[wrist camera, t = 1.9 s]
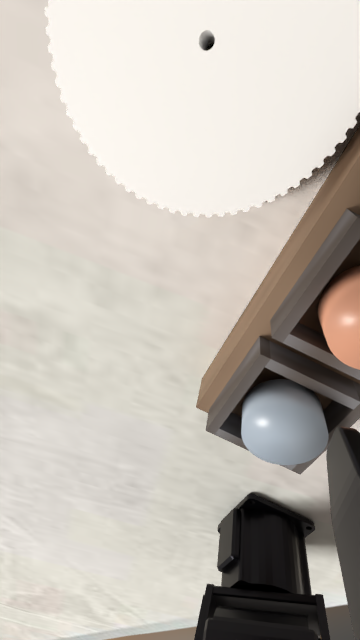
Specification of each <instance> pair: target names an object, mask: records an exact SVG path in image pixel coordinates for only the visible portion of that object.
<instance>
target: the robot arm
mask: <svg viewBox="0 0 360 640" xmlns="http://www.w3.org/2000/svg"><path fill="white" fill-rule="evenodd" d="M327 470H328V482H329V494H330V506H331V516H332V524H333V530H334V536H335V541H336V546H337V551H338V556H339V561H340V566H341V571H342V577H343V582H344V587H345V592H346V597H347V602H348V607H349V612H350V617H351V622H352V627H353V632H354V637H355V640H360V433H359V432H358V431H357V430H356V429H353V428H347V427H341V426H340V427H337V428H336V429H335V431H334V434H333V436H332V439H331V441H330V444H329V446H328V449H327ZM314 530H315V525H314V522H312V521H311V520H308V519H306V518H304V517H302V516H300V515H297V514H295V513H293V512H291V511H289V510H287V509H284V508H282V507H280V506H278V505H276V504H274V503H271V502H269V501H267V500H265V499H263V498H261V497H258V496H256V495H253V494H249V495H247V496H246V497H245V498H244V499H243V500H242V501H241V502H240V503H239V504H238V505H237V507H236V508H234V509H233V510H232V511H231V512H230V513H229V514H228V515H227V516H226V517H225V518H224V519H223V520H222V521H221V523H220V524H219V525H218V532H219V533H220V540H219V552H218V563H217V567H218V570H219V571H220V572H222V583H221V586H214V584H207V587H206V591H205V595H203V599H202V604H201V609H200V614H199V619H198V624H197V629H196V634H195V639H194V640H330V636H329V630H328V623H327V617H326V611H325V605H324V598H323V595H321V594H315V595H312V593H311V585H310V577H309V569H308V562H307V554H306V546H305V537H306V536H308V535H309V534H310V533H312V532H313V531H314ZM318 635H320V638H318Z"/></svg>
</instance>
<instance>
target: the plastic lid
mask: <svg viewBox="0 0 360 640" xmlns="http://www.w3.org/2000/svg"><path fill="white" fill-rule="evenodd" d="M45 16H46V17H48V21H49V25H48V26H46V35H48V36H49V37H50V44H49V45H48V52H49V53H51V54H52V57H53V61H52V62H51V68H52V70H53V71H55V72H56V75H57V78H56V79H55V83H56V86H57V87H60V89H61V92H62V94H61V95H60V99H61V101H62V102H63V103H65V104H66V106H67V110H66V114H67V116H68V117H71V118H72V120H73V122H74V123H73V125H72V126H73V128H74V130H75V131H79V133H80V135H81V136H80V140H81V142H82V143H83V144H87V146H88V152H89V154H90V155H94V156H95V157H96V158H97V161H96V163H97V164H98V165H99V166H104V167H105V168H106V171H105V173H106V174H107V175H108V176H112V175H113V176H114V177H115V182H116V183H117V184H118V185H120V184H123V185H124V186H125V190H126V191H127V192H129V193H130V192H132V191H133V192H134V193H136V197H137V198H138V199H142V198H144V199H146V200H147V203H148V204H150V205H152V204H154V203H155V204H157V205H158V208H159V209H162V210H163V209H164V208H168V209H169V211H170V212H171V213H175V212H176V211H180V212H181V215H185V216H187V214H188V213H192V214H193V216H194V217H199V216H200V214H205V216H206V217H212V215H213V214H218V217H222V216H224V214H225V213H228V212H230V214H231V215H235V214H237V211H238V210H243V212H247V211H249V210H250V207H252V206H255V207H256V208H259V207H261V206H262V203H263V202H265V201H268V202H269V203H270V202H273V201H274V200H275V196H277V195H279V194H280V195H281V196H284V195H285V194H287V189H289V188H290V187H294V188H296V187H298V186H299V185H300V180H301V179H303V178H306V179H308V178H309V177H310V176H312V170H313V169H314V168H315V167H317V168H320V167H321V166H322V165H323V164H324V161H323V160H324V158H325V157H326V156H332V155H333V154H334V153H335V151H336V150H335V146H336V145H337V144H338V143H343V142H344V140H345V139H346V138H347V136H346V135H345V133H346V132H347V130H348V129H349V128H354V126H355V125H356V123H357V121H356V119H355V118H356V116H357V114H358V113H360V0H48V6H47V7H45ZM211 43H214V45H213V47H212V48H211V49H210V50H208V51H206V48H207V46H208V45H209V44H211Z"/></svg>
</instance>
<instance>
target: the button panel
mask: <svg viewBox="0 0 360 640" xmlns="http://www.w3.org/2000/svg"><path fill="white" fill-rule="evenodd" d="M357 265H360V126H359V127H358V129H357V131H356V132H355V134H354V136H353V137H352V139H351V140H350V142H349V144H348V145H347V147H346V148H345V150H344V152H343V153H342V155H341V156H340V158H339V160H338V161H337V163H336V164H335V166H334V168H333V169H332V171H331V172H330V174H329V176H328V177H327V179H326V180H325V182H324V184H323V185H322V187H321V189H320V190H319V192H318V193H317V195H316V197H315V198H314V200H313V201H312V203H311V205H310V206H309V208H308V209H307V211H306V213H305V214H304V216H303V217H302V219H301V221H300V222H299V224H298V225H297V227H296V229H295V230H294V232H293V233H292V235H291V237H290V238H289V240H288V241H287V243H286V245H285V246H284V248H283V250H282V251H281V253H280V254H279V256H278V258H277V259H276V261H275V262H274V264H273V266H272V267H271V269H270V270H269V272H268V274H267V275H266V277H265V278H264V280H263V282H262V283H261V285H260V286H259V288H258V290H257V291H256V293H255V294H254V296H253V298H252V299H251V301H250V303H249V304H248V306H247V307H246V309H245V311H244V312H243V314H242V315H241V317H240V319H239V320H238V322H237V323H236V325H235V327H234V328H233V330H232V331H231V333H230V335H229V336H228V338H227V339H226V341H225V343H224V344H223V346H222V347H221V349H220V351H219V352H218V354H217V356H216V357H215V359H214V360H213V362H212V364H211V365H210V367H209V368H208V370H207V372H206V373H205V375H204V376H203V378H202V381H201V386H200V391H199V396H198V400H197V405H196V408H199V409H201V410H203V411H205V412H207V413H208V420H207V426H206V431H208V432H210V433H212V434H214V435H216V436H219V437H221V438H223V439H225V440H227V441H229V442H231V443H234V444H236V445H238V446H240V447H242V448H244V449H247V447H246V446H245V444H244V442H243V440H242V435H241V428H242V405H243V400H244V398H245V396H246V394H247V393H248V392H249V391H250V390H251V389H252V388H253V387H255V386H256V385H258V384H260V383H262V382H265V381H269V380H275V379H286V380H292V381H294V382H296V383H299V384H301V385H303V386H305V387H307V388H309V389H311V390H313V391H314V392H315V394H316V395H317V396H318V398H319V400H320V402H321V405H322V409H323V413H324V417H325V421H326V425H327V429H328V435H329V436H328V443H327V445H326V447H325V449H324V450H323V452H325V451H326V450H327V449H328V446H329V444H330V441H331V439H332V436H333V434H334V431H335V429H336V428H337V427H340V426H341V427H347V428H350V427H351V426H352V425H353V424H354V423H355V422H356V421H357V420H358V419H359V418H360V370H359V369H355V368H353V367H350V366H348V365H346V364H344V363H343V362H341V361H340V360H339V359H337V358H336V357H335V356H334V354H333V353H332V352H331V350H330V348H329V346H328V344H327V341H326V338H325V335H324V333H323V330H322V327H321V324H320V321H319V317H318V305H319V301H320V298H321V296H322V293H323V292H324V290H325V288H326V287H327V286H328V285H329V283H330V282H331V281H332V280H333V279H334V278H335V277H337V276H338V275H339V274H341V273H342V272H344V271H346V270H348V269H350V268H352V267H354V266H357ZM247 450H248V449H247ZM323 452H322V453H323ZM322 453H321V454H322ZM321 454H320V455H321ZM320 455H318V456H317V457H316V458H314V459H312V460H310V461H308V462H305V463H301V464H296V465H281V466H283V467H285V468H287V469H289V470H292V471H294V472H296V473H298V474H301V473H302V472H303V471H304V470H306V469H307V468H308V467H309V466H310V465H311V464H312V463H313V462H314V461H315V460H316V459H317V458H318V457H319V456H320Z"/></svg>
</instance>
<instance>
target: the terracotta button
mask: <svg viewBox="0 0 360 640" xmlns="http://www.w3.org/2000/svg"><path fill="white" fill-rule="evenodd" d="M318 317H319V321H320V324H321V327H322V330H323V333H324V335H325V338H326V341H327V344H328V346H329V348H330V350H331V352H332V353H333V354H334V356H335V357H336V358H337V359H339V360H340V361H341V362H343V363H344V364H346V365H348V366H350V367H353V368H355V369H359V370H360V265H357V266H354V267H352V268H350V269H348V270H346V271H344V272H342V273H341V274H339V275H338V276H337V277H335V278H334V279H333V280H332V281H331V282H330V283H329V285H328V286H327V287H326V288H325V290H324V292H323V293H322V296H321V298H320V301H319V305H318Z"/></svg>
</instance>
